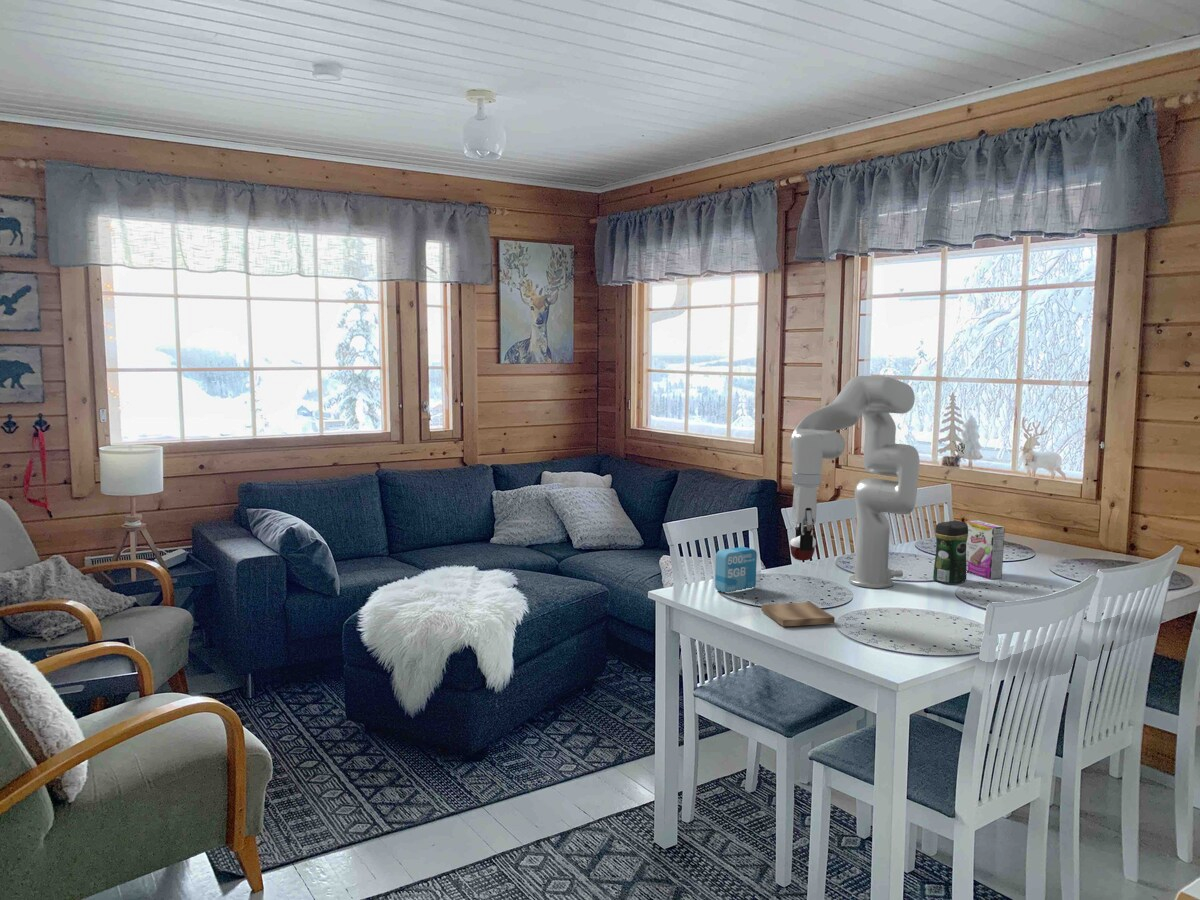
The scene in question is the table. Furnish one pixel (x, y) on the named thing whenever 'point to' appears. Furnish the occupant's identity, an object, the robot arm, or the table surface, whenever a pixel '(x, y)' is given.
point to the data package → (735, 569)
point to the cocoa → (799, 553)
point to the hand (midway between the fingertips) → (803, 546)
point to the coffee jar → (950, 552)
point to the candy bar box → (985, 549)
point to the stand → (797, 614)
